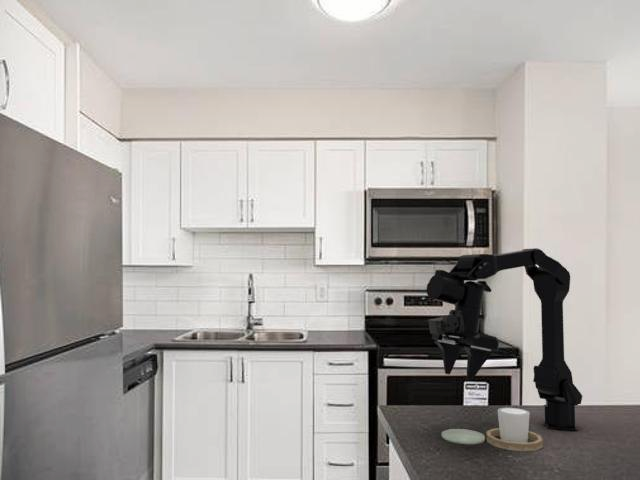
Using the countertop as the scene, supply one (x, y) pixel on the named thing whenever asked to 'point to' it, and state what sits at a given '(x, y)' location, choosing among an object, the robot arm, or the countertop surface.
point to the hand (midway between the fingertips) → (457, 377)
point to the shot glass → (513, 424)
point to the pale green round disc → (463, 436)
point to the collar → (514, 445)
